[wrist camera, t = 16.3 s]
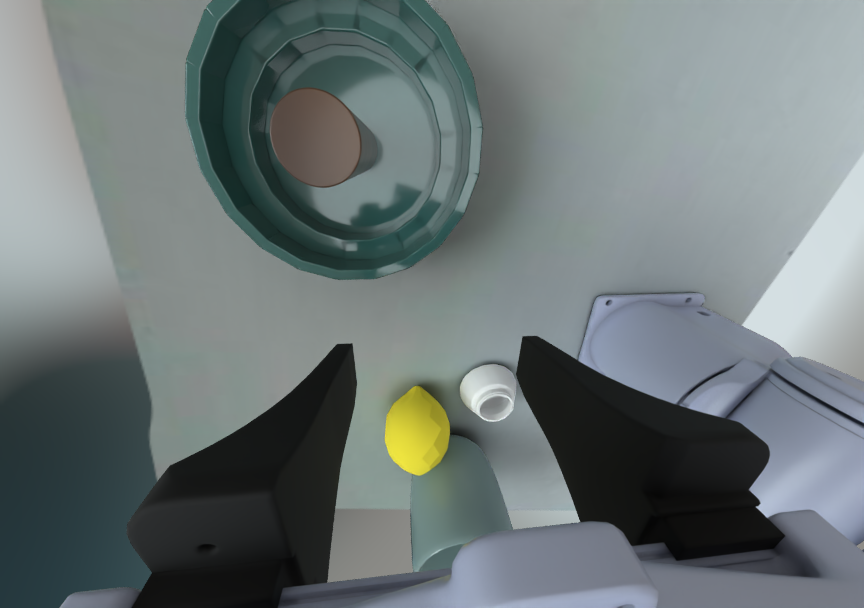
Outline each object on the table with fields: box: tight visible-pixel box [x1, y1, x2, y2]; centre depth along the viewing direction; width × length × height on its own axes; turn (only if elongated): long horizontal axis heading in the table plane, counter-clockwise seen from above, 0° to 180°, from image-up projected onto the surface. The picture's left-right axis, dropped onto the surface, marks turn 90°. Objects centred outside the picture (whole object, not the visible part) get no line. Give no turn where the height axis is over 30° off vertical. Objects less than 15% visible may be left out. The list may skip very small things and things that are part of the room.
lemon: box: [385, 386, 450, 476], centre depth 25 cm, size 7×5×5 cm
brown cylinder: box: [270, 87, 377, 188], centre depth 14 cm, size 3×3×9 cm
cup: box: [410, 435, 513, 572], centre depth 26 cm, size 8×8×10 cm
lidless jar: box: [460, 364, 517, 422], centre depth 26 cm, size 5×3×5 cm
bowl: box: [185, 0, 483, 280], centre depth 16 cm, size 13×13×4 cm
